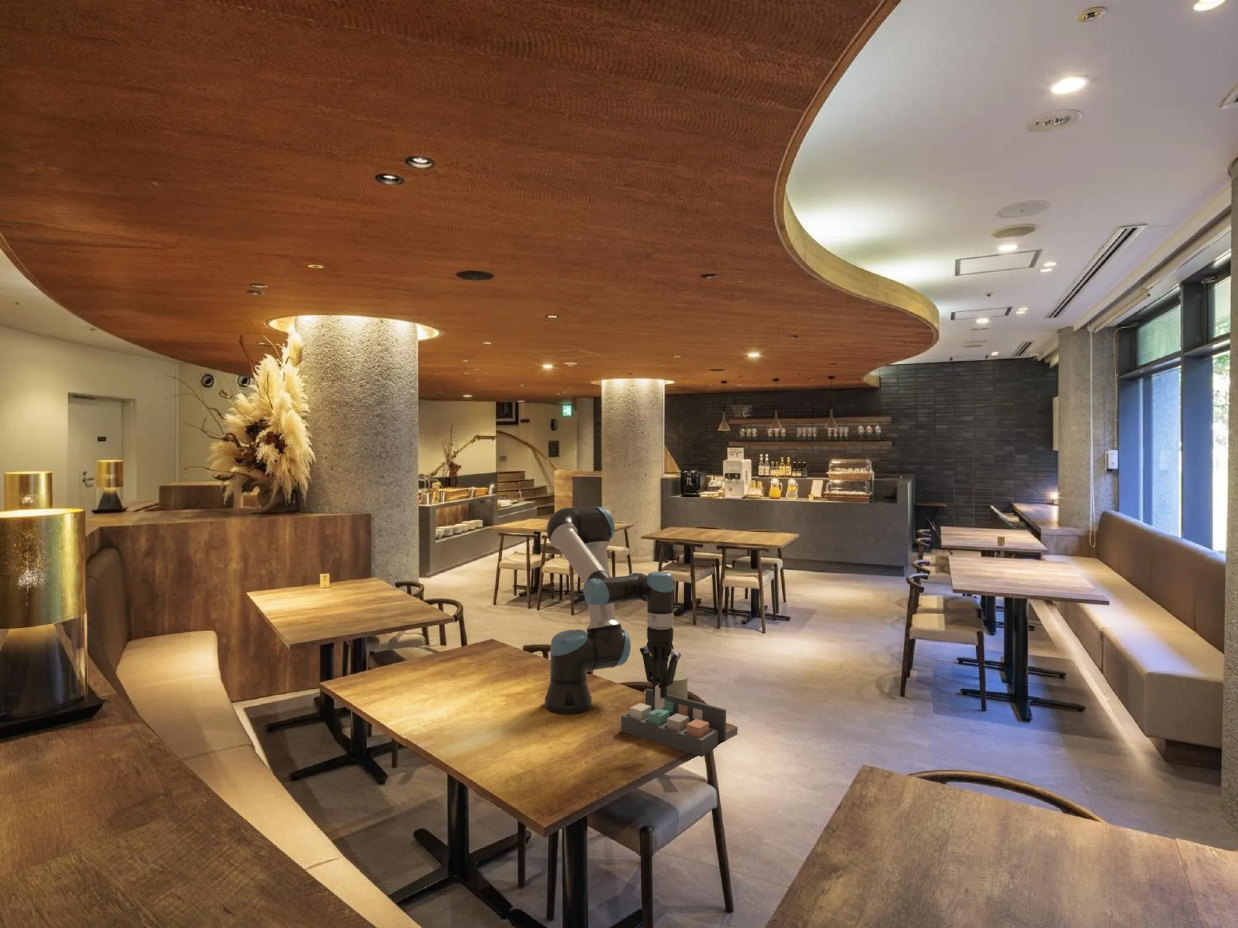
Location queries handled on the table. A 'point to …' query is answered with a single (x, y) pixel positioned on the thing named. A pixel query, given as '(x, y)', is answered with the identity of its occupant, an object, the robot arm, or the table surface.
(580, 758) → the table surface
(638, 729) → the key frame
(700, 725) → the key
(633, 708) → the key
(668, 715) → the key
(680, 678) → the can
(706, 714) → the screen
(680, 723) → the grey block
